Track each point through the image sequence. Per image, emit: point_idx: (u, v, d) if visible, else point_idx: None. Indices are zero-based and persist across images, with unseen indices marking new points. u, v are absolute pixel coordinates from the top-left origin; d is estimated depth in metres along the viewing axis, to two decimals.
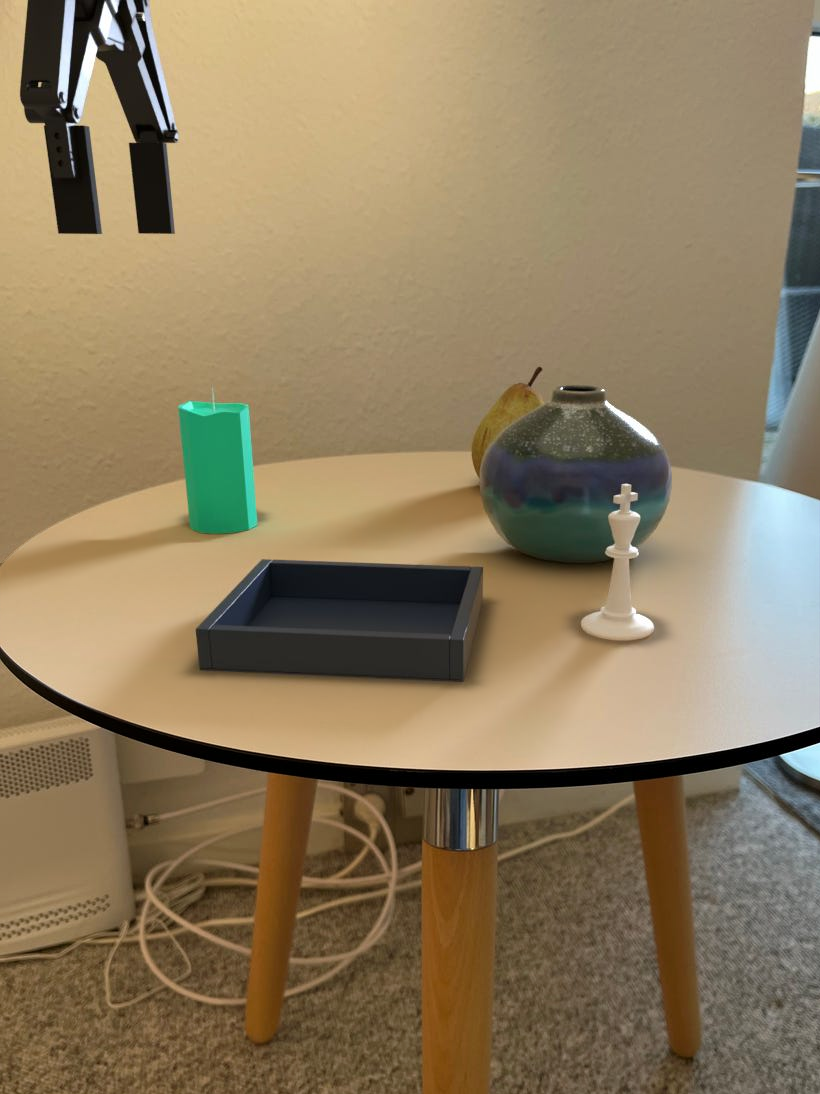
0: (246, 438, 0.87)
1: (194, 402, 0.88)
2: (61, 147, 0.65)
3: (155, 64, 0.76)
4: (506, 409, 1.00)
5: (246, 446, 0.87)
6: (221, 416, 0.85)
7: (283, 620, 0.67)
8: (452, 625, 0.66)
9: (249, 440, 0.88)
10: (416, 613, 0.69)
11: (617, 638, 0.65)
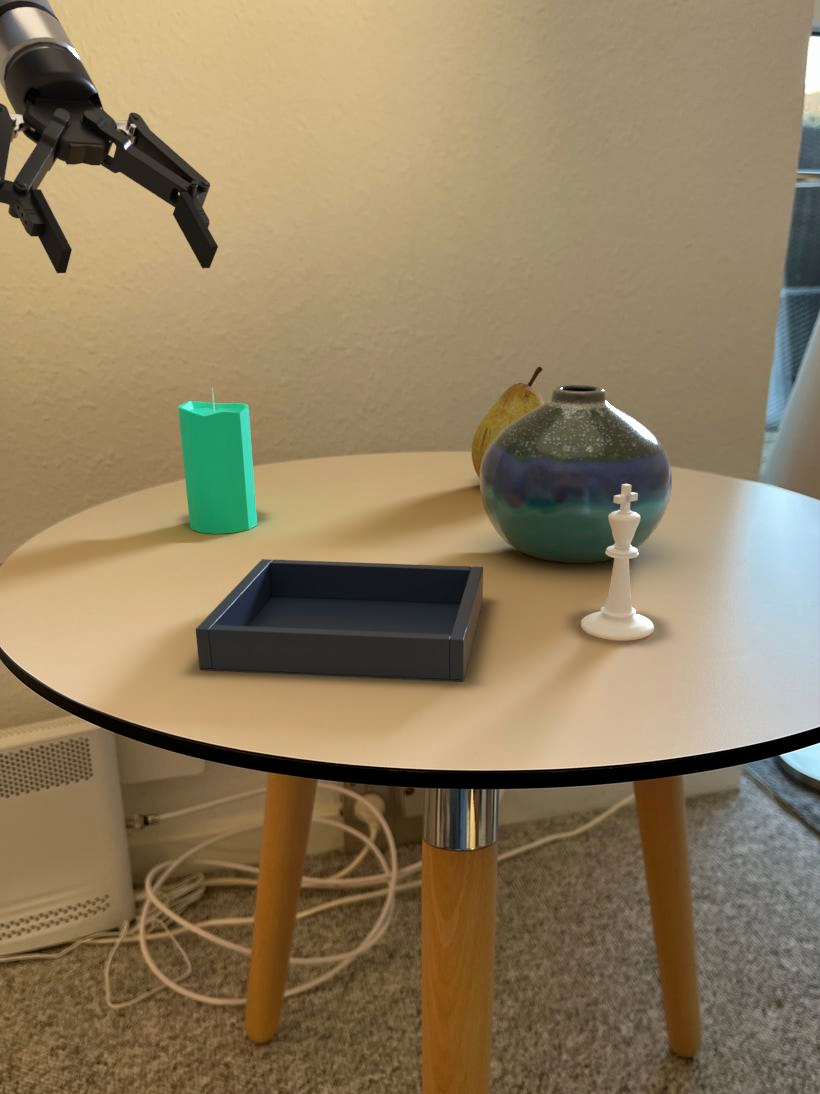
0: (246, 438, 0.87)
1: (194, 402, 0.88)
2: None
3: None
4: (506, 410, 1.00)
5: (246, 446, 0.87)
6: (221, 416, 0.85)
7: (283, 620, 0.67)
8: (452, 625, 0.66)
9: (249, 440, 0.88)
10: (416, 613, 0.69)
11: (617, 638, 0.65)
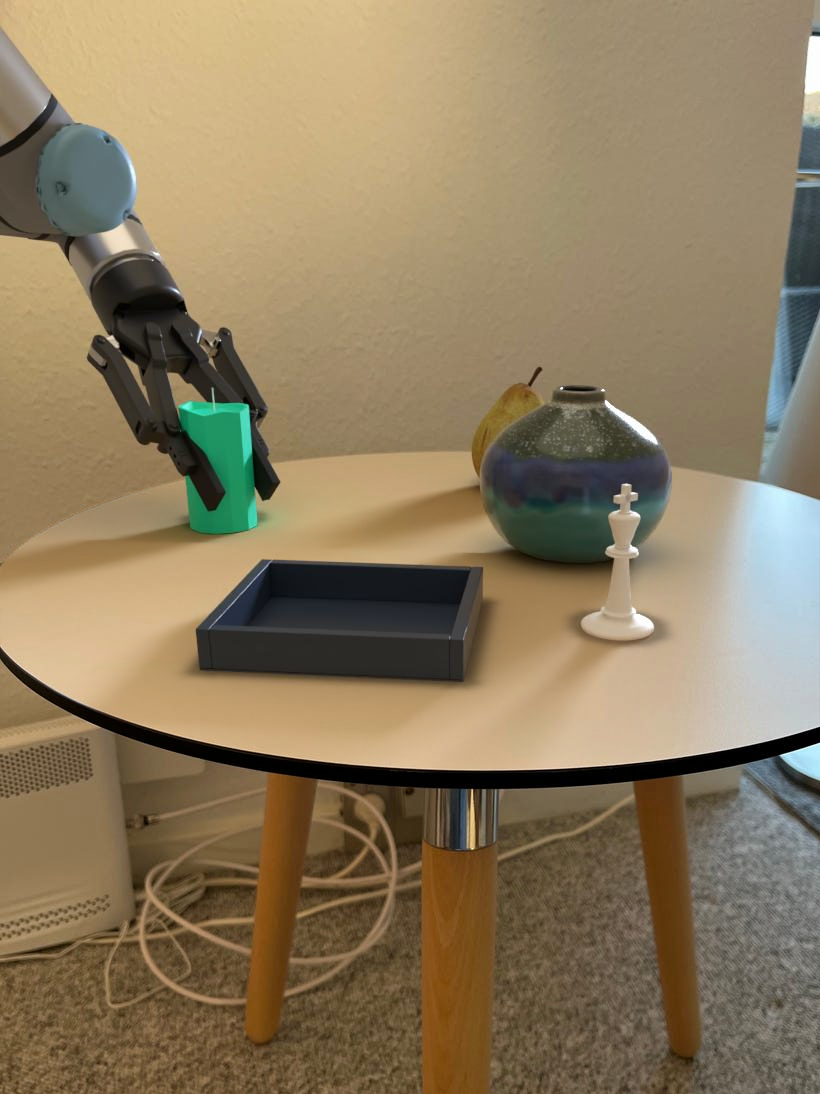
0: (246, 438, 0.87)
1: (194, 402, 0.88)
2: None
3: None
4: (506, 410, 1.00)
5: (246, 446, 0.87)
6: (221, 416, 0.85)
7: (283, 620, 0.67)
8: (452, 625, 0.66)
9: (249, 440, 0.88)
10: (416, 613, 0.69)
11: (617, 638, 0.65)
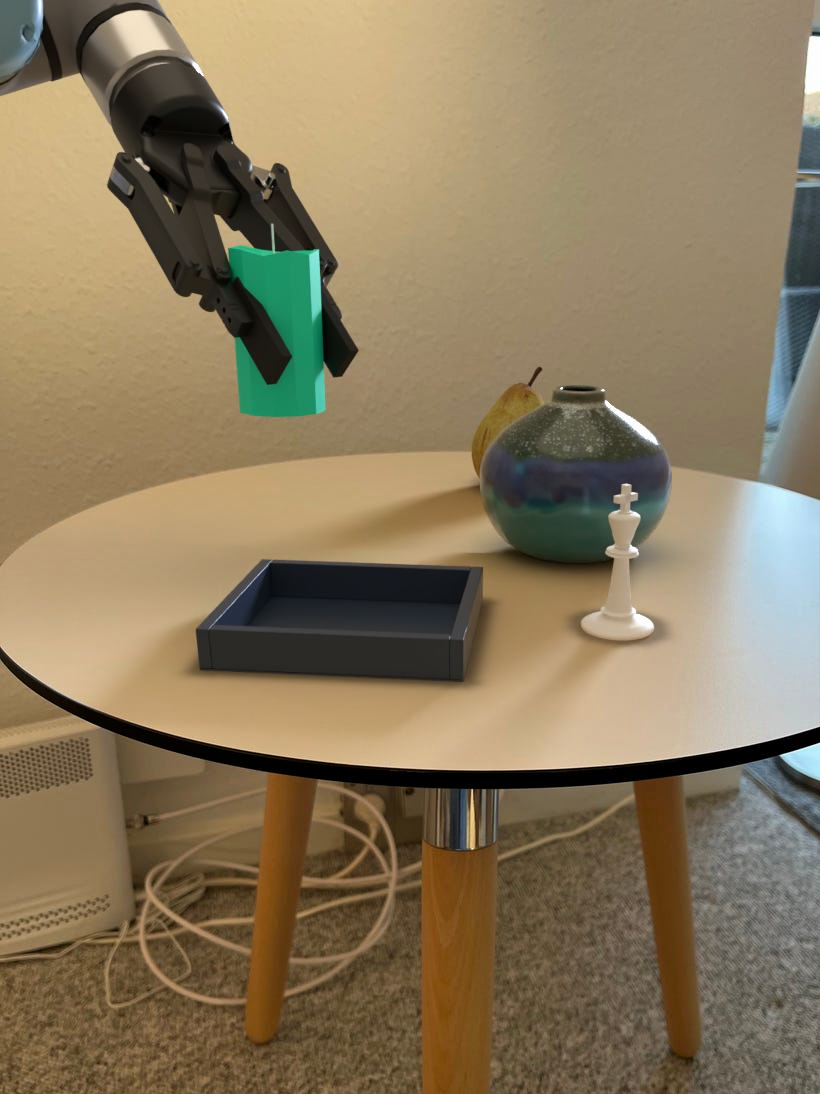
0: (316, 292, 0.67)
1: (246, 247, 0.68)
2: None
3: None
4: (506, 410, 1.00)
5: (315, 302, 0.67)
6: (286, 256, 0.64)
7: (283, 620, 0.67)
8: (452, 625, 0.66)
9: (319, 295, 0.68)
10: (416, 613, 0.69)
11: (617, 638, 0.65)
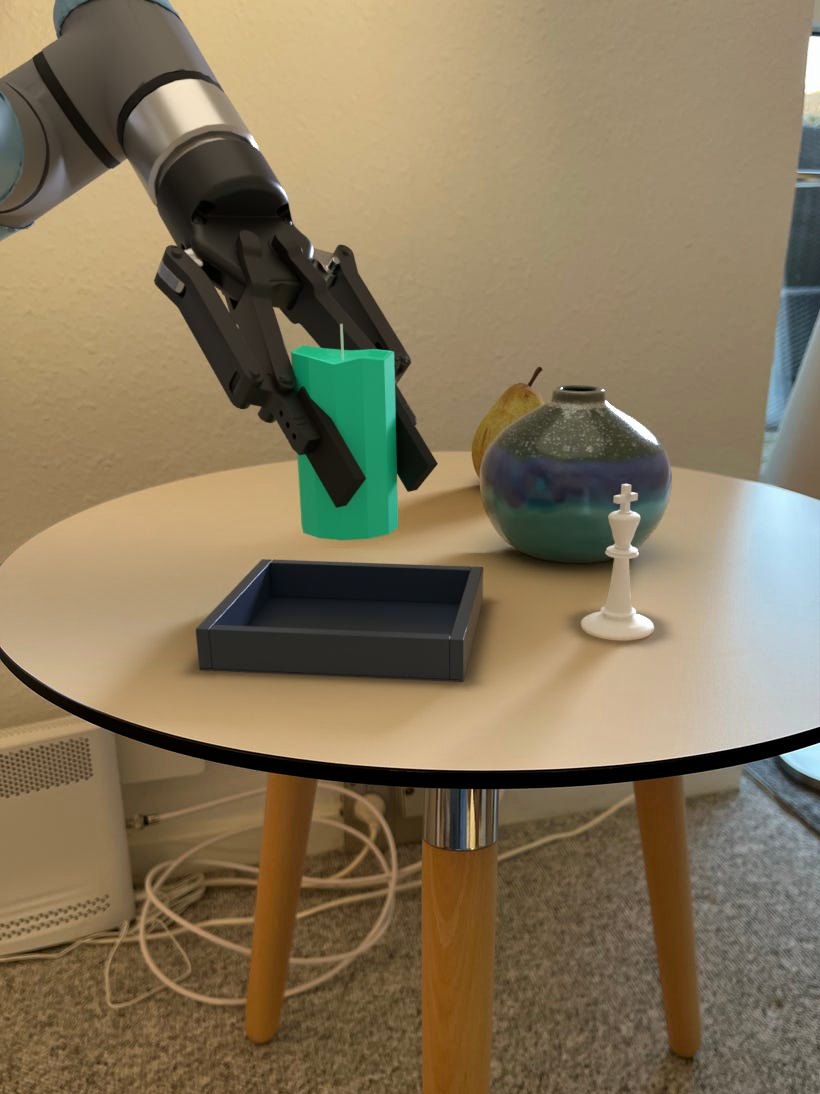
0: (390, 399, 0.59)
1: (310, 347, 0.60)
2: None
3: None
4: (506, 409, 1.00)
5: (389, 411, 0.59)
6: (359, 364, 0.56)
7: (283, 620, 0.67)
8: (452, 625, 0.66)
9: (393, 402, 0.60)
10: (416, 613, 0.69)
11: (617, 638, 0.65)
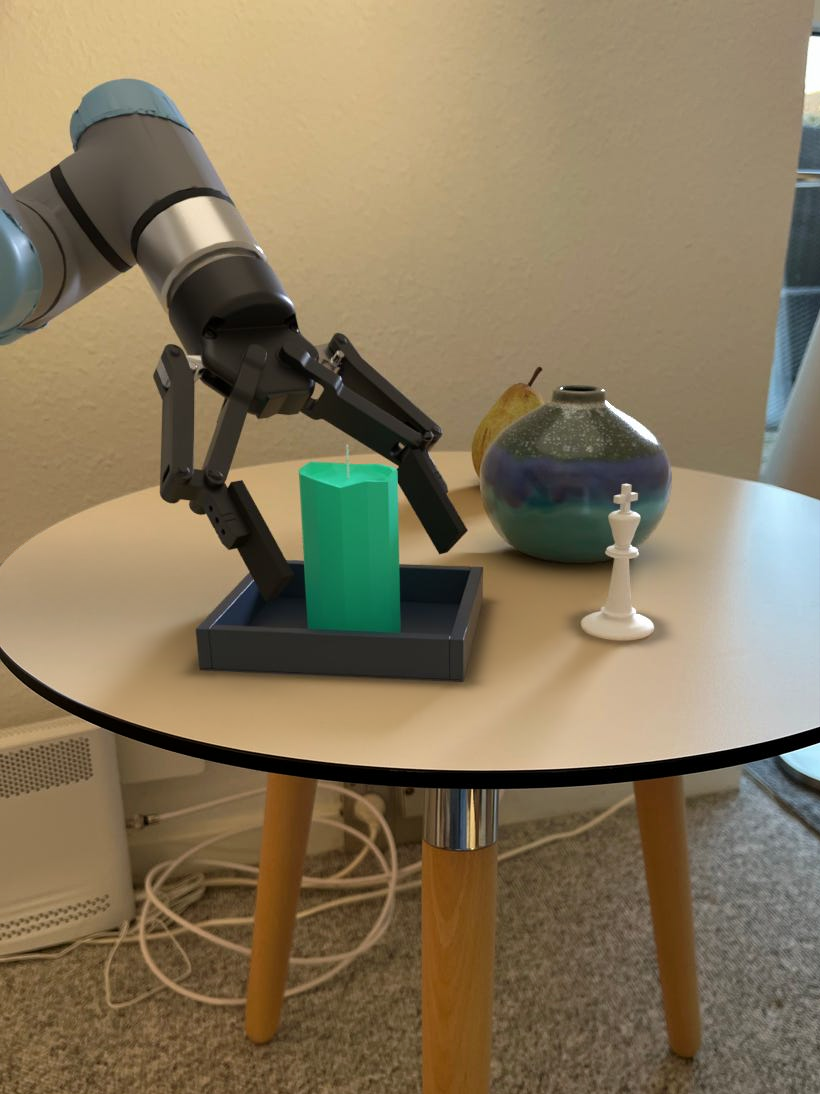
0: (394, 516, 0.62)
1: (317, 463, 0.63)
2: None
3: None
4: (506, 410, 1.00)
5: (393, 527, 0.62)
6: (364, 487, 0.59)
7: (283, 620, 0.67)
8: (452, 625, 0.66)
9: (396, 518, 0.62)
10: (416, 613, 0.69)
11: (617, 638, 0.65)
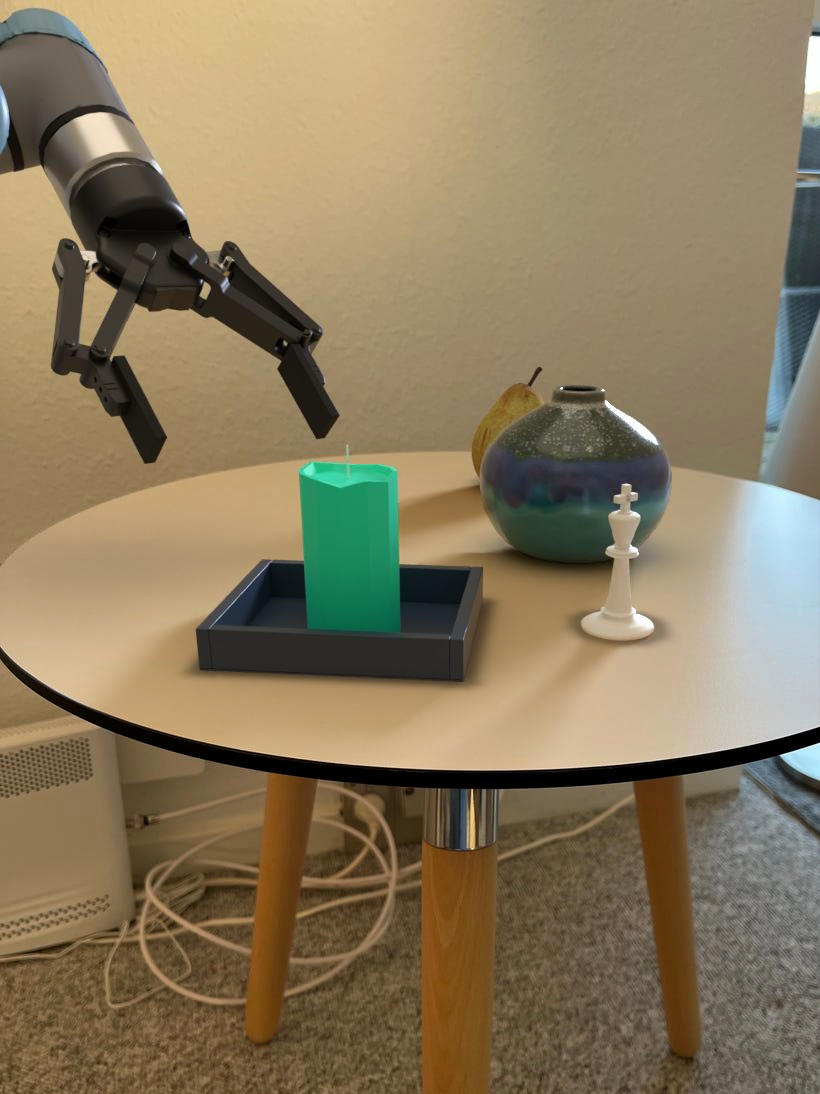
0: (394, 516, 0.62)
1: (317, 463, 0.63)
2: None
3: None
4: (506, 409, 1.00)
5: (393, 527, 0.62)
6: (364, 487, 0.59)
7: (283, 620, 0.67)
8: (452, 625, 0.66)
9: (396, 518, 0.62)
10: (416, 613, 0.69)
11: (617, 638, 0.65)
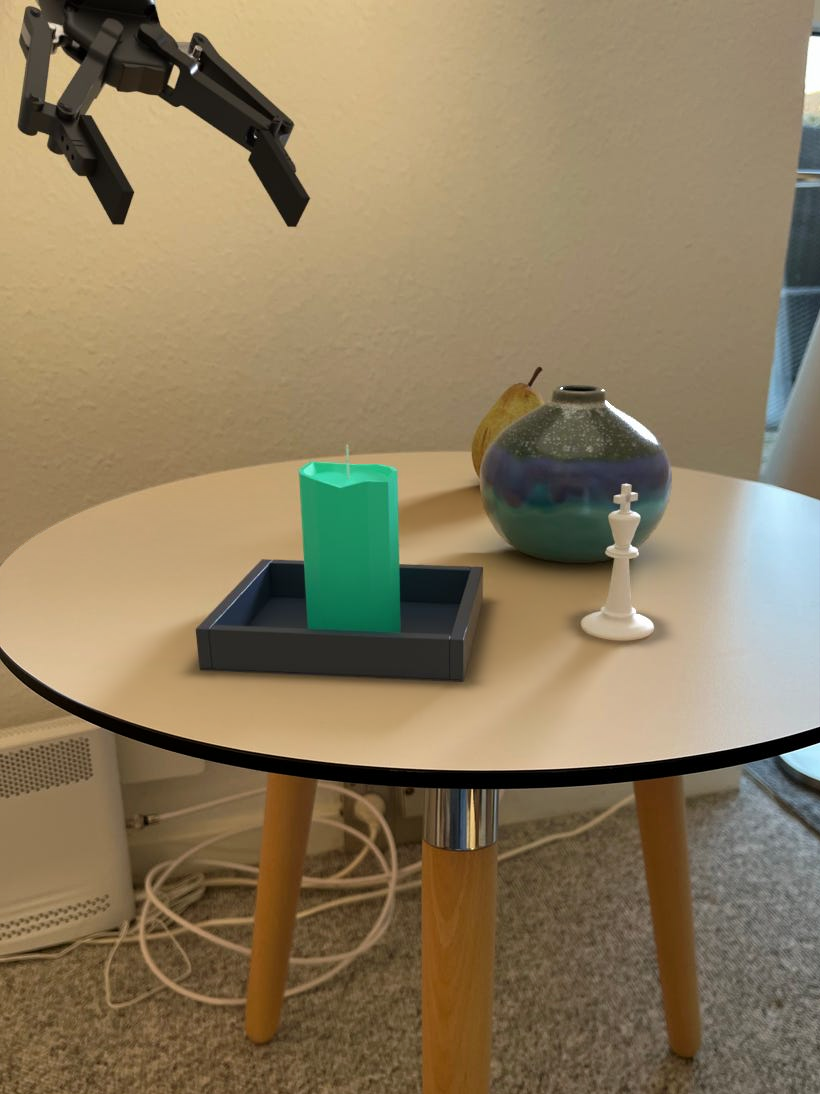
0: (394, 516, 0.62)
1: (317, 463, 0.63)
2: None
3: None
4: (506, 409, 1.00)
5: (393, 527, 0.62)
6: (364, 487, 0.59)
7: (283, 620, 0.67)
8: (452, 625, 0.66)
9: (396, 518, 0.62)
10: (416, 613, 0.69)
11: (617, 638, 0.65)
